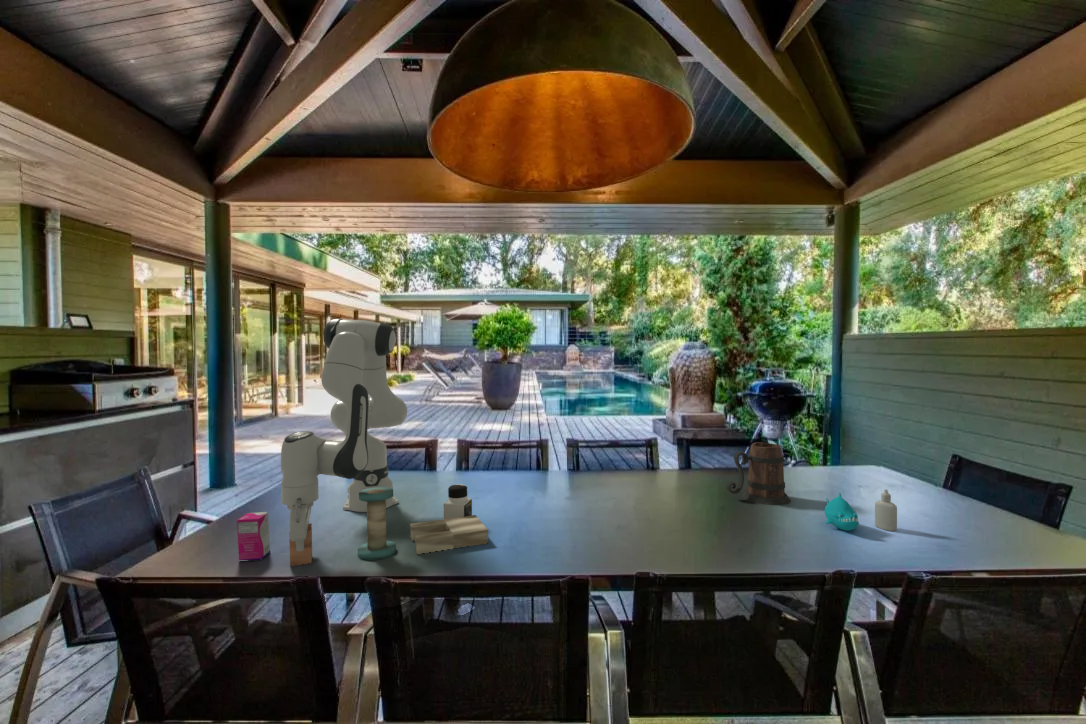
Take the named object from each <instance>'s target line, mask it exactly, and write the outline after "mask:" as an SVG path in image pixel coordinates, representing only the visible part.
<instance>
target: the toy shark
mask: <svg viewBox="0 0 1086 724" xmlns="http://www.w3.org/2000/svg"><path fill="white" fill-rule="evenodd" d="M825 500H826V502H827V505H826V506H824V515H825V517H826V521H825V524H826V525H829V524H831V525H833V526H835V527H836V528H838V529H840V530H841V531H845V532H847V531H849V532H850V531H853V530H855V529H857V528H858V526H859V525H860V522H859V518H858V517H859V516H858V515H857V512H856V511H855V510H854V508H853V507H852V506H851V505H850V503H849V502H848V501H847V500H846V499H844V498H843V497H842V494H841V492H840V491H839V492H838V496H837V497H834V498H832V499H831V500H830V501H829V499H828V498H827V497H826V498H825Z"/></svg>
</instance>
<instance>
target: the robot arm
mask: <svg viewBox="0 0 1086 724" xmlns="http://www.w3.org/2000/svg"><path fill="white" fill-rule="evenodd" d="M322 334H323V337H322V338H323V343H324V345H325V346H326V348H327V349H328V350H327V353H326V356H325V359H324V362H323V367H322V371H321V384H322V387H323V389H324V390H325V391H326V392H327V394H328V395H330V396H331V397H333V398H334V399H337V400H338V401H336V402H335V403H334V404H333V405H332V407H331V410H330V420H331V423H332V424H333V426H335V427H336V429H338V430H340V431H341V432H343V433H344V435H345V438H344V440H333V439H327V438H322V437H319V436H317V434H315V433H314V432H313V431H310V430H305V431H298V432H293V433H291V434H288V435H287V436H286V437H284V439H283V441H282V444H281V448H280V449H281V450H280V471H281V473H282V480H281V483H280V484H281V485H280V486H281V487H280V489H281V490H280V491H281V492H280V493H281V497H280V498H281V504H282V505H284V506H286V509H287V510H289V511H290V514H289V532H290V535H289V541H290V540H291V541H295V542H296V551H303V550H304V540H305V539H306V536H307V530H308V524H310V518H311V512H312V507H313V506H314V502H316V501H317V500H318V499H319V496H320V495H319V478H318V476H319V475H323V476H333V477H339V478H342V479H348V480H352V479H353V480H352V482H350V484H349V485H348V487H347V494H348V495H347V500H346V501H345V502H344V505H343V506H342V510H345V511H352V512H358V513H359V512H360V513H367V502H366V501H361V500H359V492H360V491H362V490H364V489H368V488H373V487H389V488H392V489H393V490H394V486H393V485H394V482H393V480H391V478H390V477H389V465H388V464H387V461H388V459H387V455H388V454H387V445H386V443H385V441H383V440H382V439H379V438H377V437H375V436H372V435H370V433H369V432H368V431H369V430H371V429H381V428H382V429H386V428H393V427H396V426H400V425H402V424H403V423H404V422H405V421H406V419H407V416H408V407H407V405H406V403H405V402H404V400H403V399H402V398H400V397H398V396H397V395H396V394H395V393H394V392H393V391H392V390H391V389H390V386H389V384H388V378H387V376H388V375H387V357H386V356H388V355H390V354H391V353H392V352H393V351H394V349H395V346H396V344H397V336H396V330H395V329H394V327H393V326H392V325H390V324H388V323H384V322H381V323H379V322H376V321H371V320H365V319H360V320H359V319H344V318H335V319H334V318H333V319H331V320H330V321H328V322H327V323H326V324H325V327H324V329H323V333H322ZM397 504H399V499H397V497H395V496H394V495H393V497H391V498H390V499H387V500H386V509H388V508H390V507H391V506H394V505H397Z"/></svg>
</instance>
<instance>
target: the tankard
mask: <svg viewBox="0 0 1086 724" xmlns="http://www.w3.org/2000/svg"><path fill="white" fill-rule="evenodd" d="M740 456H741V460H742V461H741V464H740V459H739V457H740ZM733 460H734V464H735V466H736V468H737V470H738V474H739V477H738V483H737V484H736V483H735V482H733V481H727V483H726V484H725V485H726V490H727V491H728V492H729V493H731V494H733V495H737V494H739V493H740V492H741V491H742V489H743V487H744V481H745V474H744V469H743V467H742V466H745V465H747V464H748V476H747V478H746V479H747V480H746V481H747V482H746V485H747V489H745V491H744V492H743V493H742V494H741V498H742V499H743V500H745V501H747V502H751V503H754V504H759V505H764V506H765V505H766V506H784V505H789V504H791V503H792V500H791V499H790V498H789V496H788V494H787V493H786V492H785V489H786V482H785V477H784V476H785V473H784V472H785V471H784V468H785V467H784V462H785V458H784V455H783V450H782V445H780V444H777V443H768V442H759V441H757V442H756V441H755V442H753V443H751V444H750V449H749V452H748V454H747V453H746V452H743V451H740V450H739V451H736V452H735V453H734V454H733Z"/></svg>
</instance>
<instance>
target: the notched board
mask: <svg viewBox="0 0 1086 724" xmlns="http://www.w3.org/2000/svg"><path fill="white" fill-rule="evenodd" d="M409 528H410V529H409V530H410V531H409V533H410V536H409V537H410V540H411V542H414V543H415V545H414V546H415V547H414V548H415V549H414V550H415V552H416V555H417V554H419V555H423V554H422V553H425V554H430V553H429V552H431V553H436V552H435V551H438V552H442V551H441V550H444V551H448V550H447V549H450V550H454V549H453V548H457V549H461V548H460V547H463V548H468V547H467V546H469V547H474V545H475V546H481V544H482V545H488V544H489V529H488V528H487V527H486V526H485V524H484V523H483V522H482V521H481V520H480V518H479V517H478V516H477V514H472V516H464V517H457V518H450V519H444V518H443V519H436V520H430V521H428V520H427V521H422V522H414V523H410V524H409ZM487 543H488V544H487Z"/></svg>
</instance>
